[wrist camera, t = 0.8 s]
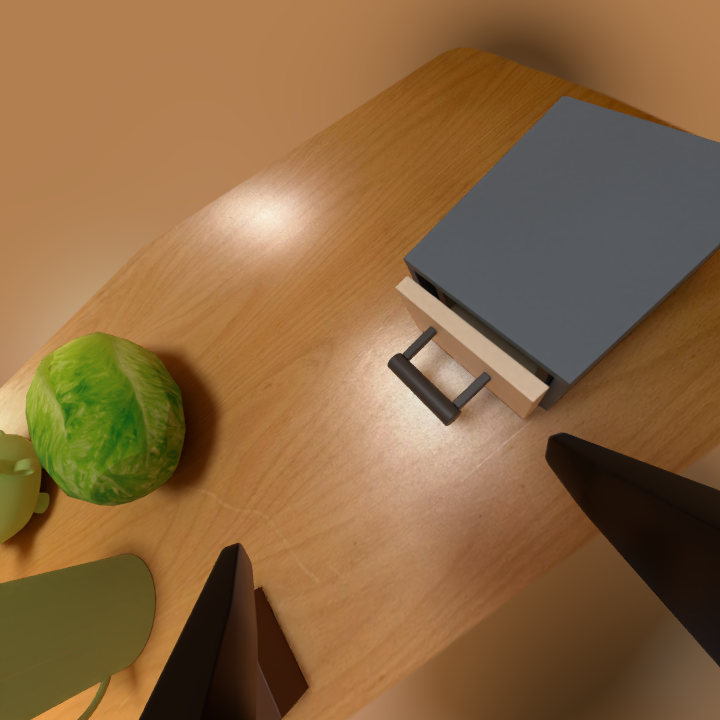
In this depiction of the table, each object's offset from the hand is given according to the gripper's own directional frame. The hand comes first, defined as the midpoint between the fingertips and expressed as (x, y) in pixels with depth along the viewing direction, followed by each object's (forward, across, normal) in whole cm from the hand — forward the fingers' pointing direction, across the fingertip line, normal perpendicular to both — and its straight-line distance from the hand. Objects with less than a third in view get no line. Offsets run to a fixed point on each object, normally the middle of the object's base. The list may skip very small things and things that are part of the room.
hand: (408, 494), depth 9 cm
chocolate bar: (+9, +11, +25) cm, 29 cm away
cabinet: (+16, -19, +3) cm, 24 cm away
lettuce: (+32, +20, +14) cm, 40 cm away
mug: (+18, +26, +28) cm, 42 cm away
